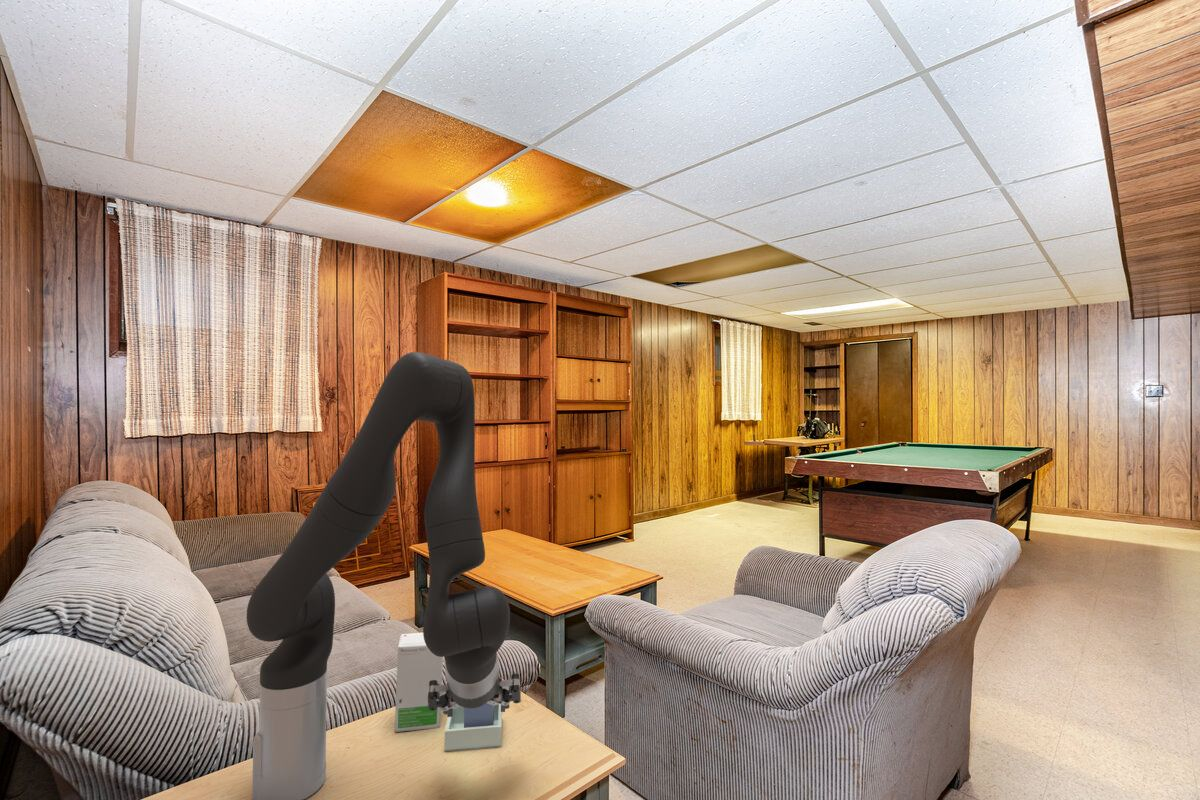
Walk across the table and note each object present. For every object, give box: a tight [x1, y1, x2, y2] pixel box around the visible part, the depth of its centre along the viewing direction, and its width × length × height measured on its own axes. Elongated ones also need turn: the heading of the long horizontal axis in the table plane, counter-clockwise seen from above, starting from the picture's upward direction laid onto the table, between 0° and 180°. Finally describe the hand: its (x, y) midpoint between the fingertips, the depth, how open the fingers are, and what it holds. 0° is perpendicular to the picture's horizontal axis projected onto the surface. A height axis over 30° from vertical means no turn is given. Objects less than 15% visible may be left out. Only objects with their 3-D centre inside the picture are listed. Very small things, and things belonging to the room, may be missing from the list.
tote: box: [444, 704, 503, 753], centre depth 99 cm, size 10×9×4 cm
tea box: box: [464, 703, 494, 728], centre depth 99 cm, size 5×5×12 cm
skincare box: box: [394, 631, 444, 733], centre depth 104 cm, size 8×7×16 cm
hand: (476, 708), depth 91 cm, fingers open, 8 cm apart
